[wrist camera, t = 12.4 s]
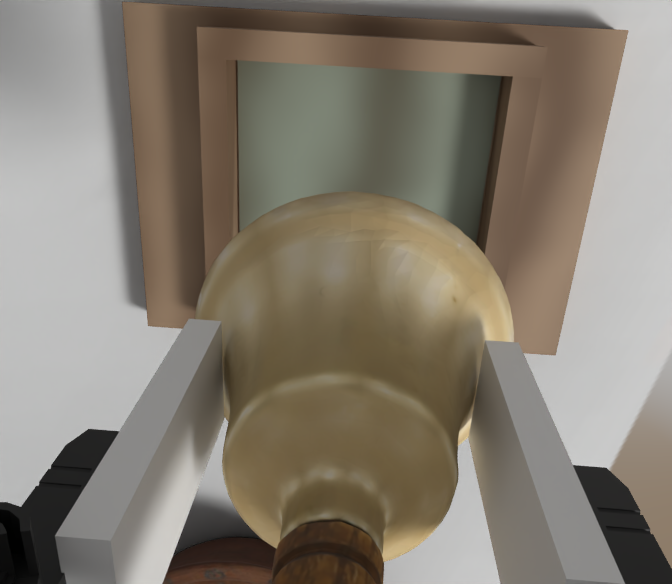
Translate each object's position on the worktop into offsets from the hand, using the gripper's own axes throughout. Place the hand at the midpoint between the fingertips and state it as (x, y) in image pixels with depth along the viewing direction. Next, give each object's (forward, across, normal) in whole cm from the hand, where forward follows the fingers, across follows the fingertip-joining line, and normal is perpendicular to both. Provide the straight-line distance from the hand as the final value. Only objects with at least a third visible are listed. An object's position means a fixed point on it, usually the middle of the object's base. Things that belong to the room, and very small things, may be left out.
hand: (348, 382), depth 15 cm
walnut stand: (+18, 0, 0) cm, 18 cm away
